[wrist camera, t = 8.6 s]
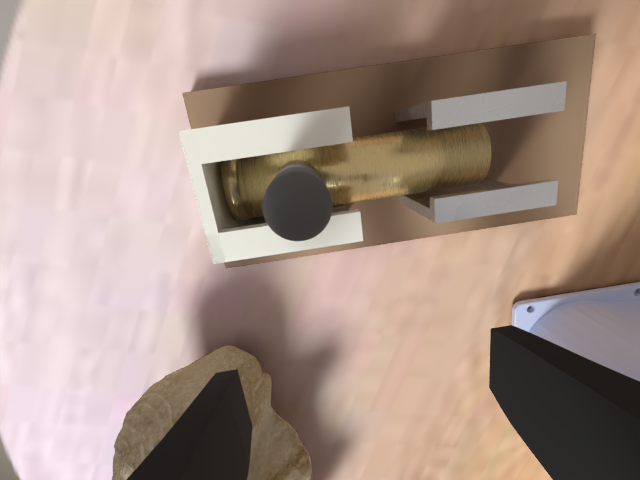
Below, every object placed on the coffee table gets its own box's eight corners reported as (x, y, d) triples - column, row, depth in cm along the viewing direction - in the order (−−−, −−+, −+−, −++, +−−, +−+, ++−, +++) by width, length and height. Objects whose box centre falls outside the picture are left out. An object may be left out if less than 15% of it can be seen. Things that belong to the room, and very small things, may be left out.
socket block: (334, 116, 16) (349, 106, 11) (346, 214, 17) (363, 241, 13) (213, 134, 16) (178, 131, 11) (235, 231, 17) (213, 264, 13)
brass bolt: (457, 120, 15) (642, 97, 7) (458, 181, 16) (623, 222, 8) (230, 154, 15) (149, 170, 7) (243, 213, 16) (184, 290, 8)
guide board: (578, 39, 16) (714, -10, 11) (562, 210, 19) (665, 237, 14) (189, 95, 16) (134, 72, 11) (229, 261, 19) (201, 310, 13)
